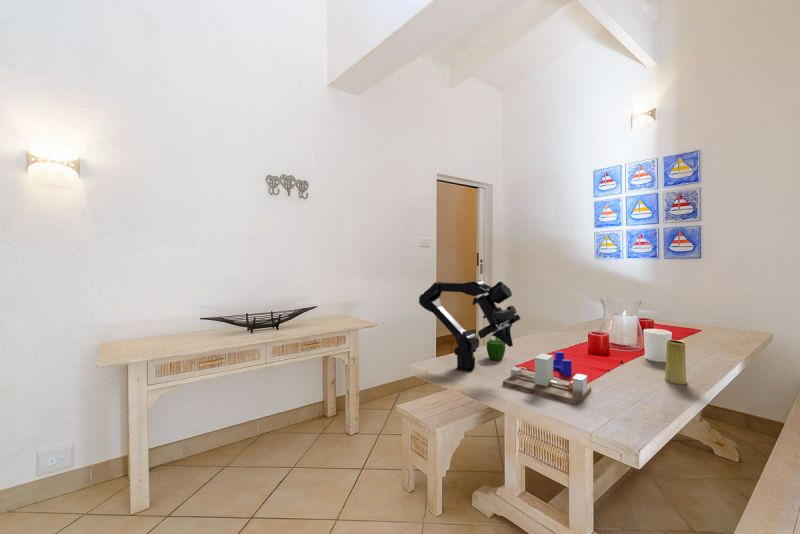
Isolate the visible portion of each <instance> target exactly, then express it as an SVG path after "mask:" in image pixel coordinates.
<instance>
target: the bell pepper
mask: <svg viewBox="0 0 800 534" xmlns="http://www.w3.org/2000/svg"><path fill="white" fill-rule="evenodd" d="M486 351H487V356H488V357H489V359H492V360H495V361H501V360H502V359H503V358H504V357H505V352H506V344H505V343H504V342H502V341H501V340H500V339H498V338H496V337H495V339H494V340H493V339H489V340H488V341H487V342H486Z"/></svg>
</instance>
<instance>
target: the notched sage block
mask: <svg viewBox="0 0 800 534" xmlns="http://www.w3.org/2000/svg"><path fill="white" fill-rule="evenodd" d="M553 359H554V355H553V354H545V353H540V354H538V355H536V356H535V357H534V374H535V384H538V385H542V386H548V385H549V380H552V381H553V378H554V368H553Z"/></svg>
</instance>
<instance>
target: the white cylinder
mask: <svg viewBox="0 0 800 534" xmlns="http://www.w3.org/2000/svg"><path fill="white" fill-rule="evenodd" d="M642 332H643V343H644V344H643V345H644V347H643V348H644V358H645V359H646V360H648V361H652V362H657V363H666V353H667V340H672V336H673V335H672V334H673V333H672V332H671V331H669V330H666V329H662V328H661V329H660V328H659V329H658V328H644V329H643V331H642Z"/></svg>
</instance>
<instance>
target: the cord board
mask: <svg viewBox="0 0 800 534" xmlns="http://www.w3.org/2000/svg"><path fill="white" fill-rule="evenodd" d="M521 374H525V375H530V376H534V377H535V373H532V372H528V371H523V370H521ZM553 381H556V382H560V383H565V384H569V382H570V381H568V380H562V379H559V378H554V377H553ZM504 385H505V386H504ZM502 386H504V387H508V386H509V387H508V388H511V387H513V388H512V389H515V388H517V389H516V390H519V389H521V390H520V391H523V390H525V391H524V392H527V391H528V392H527V393H531V392H533V393H532V394H534V393H536V394H535V395H538V394H540V395H539V396H542V395H543V397H546V396H547V398H550V397H551V398H550V399H553V398H554V400H557V399H558V400H557V401H562V402H566V403H568V404H569V403H570V404H573V405H577V406H578V405H579V404H581V403H582V402H583V400H584V399H585V398H586V397H587V396H588V395H589V394H590V393H591V392H592V386H590V385H587V391H586V392H585V394H584V395H583V396H582V395H578V394H574V393H573V391H569V390H568V388H566V387H562V386H557V385H553V384H549V385H548V386H542V385H538V384H535V380H532V379H528V378H523V377H519V378H518V379H515V378H511V375H510V376H509V377H507V378H505V379H504V380H502ZM589 392H590V393H589Z"/></svg>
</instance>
